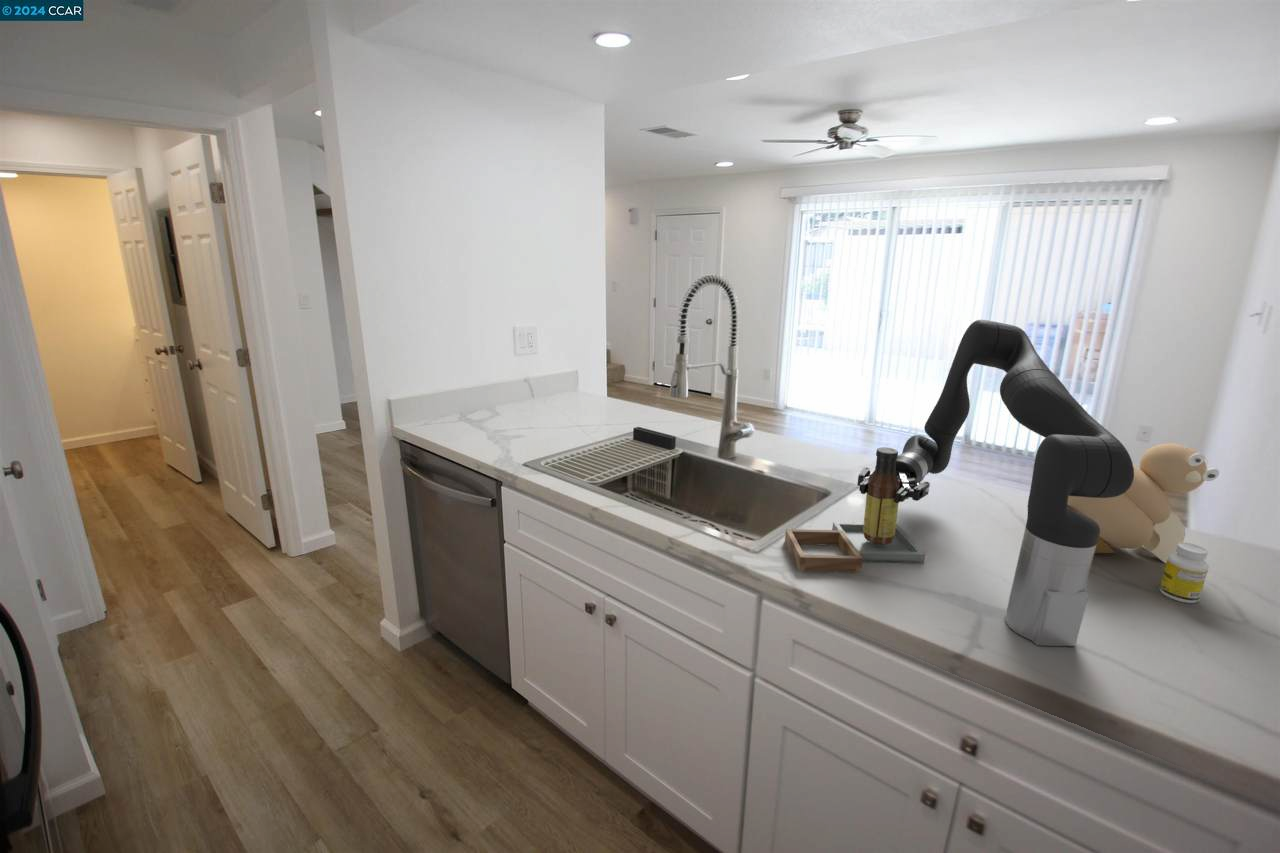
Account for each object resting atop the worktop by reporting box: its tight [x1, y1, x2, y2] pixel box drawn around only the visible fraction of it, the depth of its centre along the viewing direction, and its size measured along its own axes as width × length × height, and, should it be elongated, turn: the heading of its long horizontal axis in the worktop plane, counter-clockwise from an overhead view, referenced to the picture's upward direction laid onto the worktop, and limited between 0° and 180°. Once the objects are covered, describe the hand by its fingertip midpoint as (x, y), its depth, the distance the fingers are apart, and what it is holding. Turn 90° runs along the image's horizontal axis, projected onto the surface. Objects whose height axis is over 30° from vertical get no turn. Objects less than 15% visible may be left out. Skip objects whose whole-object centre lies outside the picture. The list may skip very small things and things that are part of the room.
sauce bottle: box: [863, 447, 900, 545], centre depth 119 cm, size 6×6×20 cm
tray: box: [831, 521, 926, 564], centre depth 122 cm, size 14×14×2 cm
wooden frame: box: [784, 528, 864, 573], centre depth 117 cm, size 12×12×3 cm
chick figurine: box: [1067, 442, 1220, 564], centre depth 120 cm, size 30×28×23 cm
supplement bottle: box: [1158, 542, 1210, 604], centre depth 104 cm, size 5×5×10 cm
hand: (879, 493), depth 117 cm, fingers closed on sauce bottle, 6 cm apart
